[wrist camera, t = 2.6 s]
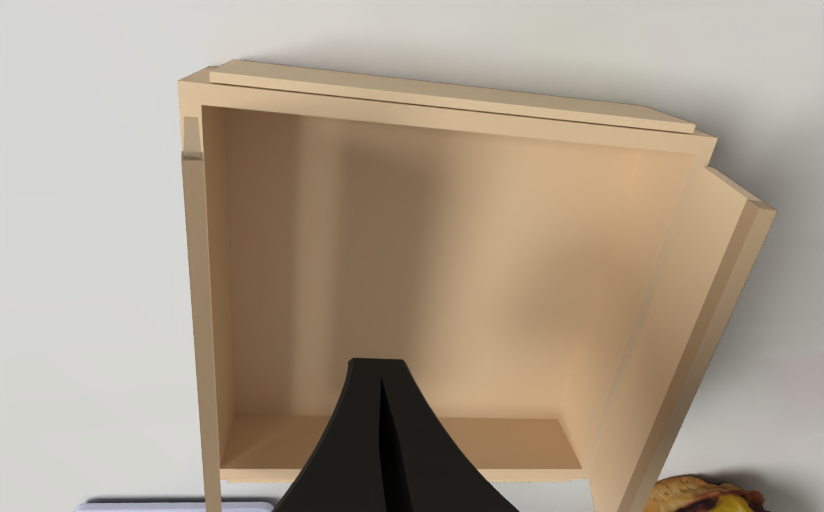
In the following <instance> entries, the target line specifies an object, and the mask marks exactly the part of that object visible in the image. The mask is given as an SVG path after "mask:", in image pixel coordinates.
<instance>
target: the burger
mask: <svg viewBox="0 0 824 512" xmlns="http://www.w3.org/2000/svg"><path fill="white" fill-rule="evenodd" d="M764 501H765V500H764V497H763V495H762V494H761V493H760V492H758V491H754V490H749V491H744V490H742V489H740V488H739V487H737V486H735V485H733V484H729V483H723V484H721V485H719V486H717V485H714V484H708V483H706V482H705V481H703V480H702V479H700V478H694V477H692V476H690V475H689V476H677V477H672V478H668V479H664V480H661V481H658V482H656V483H655V486H654V488H653V490H652V492H651V495H650V497H649V499H648V501H647V504H646V506H645V508H644V510H643V512H769V511H766V510H764V509H763V503H764Z"/></svg>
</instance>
